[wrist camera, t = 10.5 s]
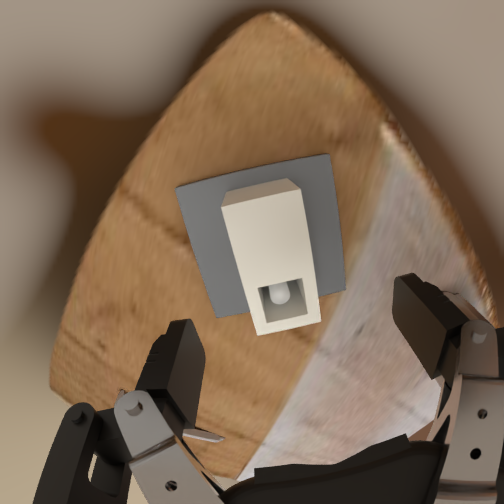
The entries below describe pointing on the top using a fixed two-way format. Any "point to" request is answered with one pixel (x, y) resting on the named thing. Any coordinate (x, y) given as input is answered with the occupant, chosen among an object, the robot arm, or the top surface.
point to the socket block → (273, 253)
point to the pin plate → (218, 242)
